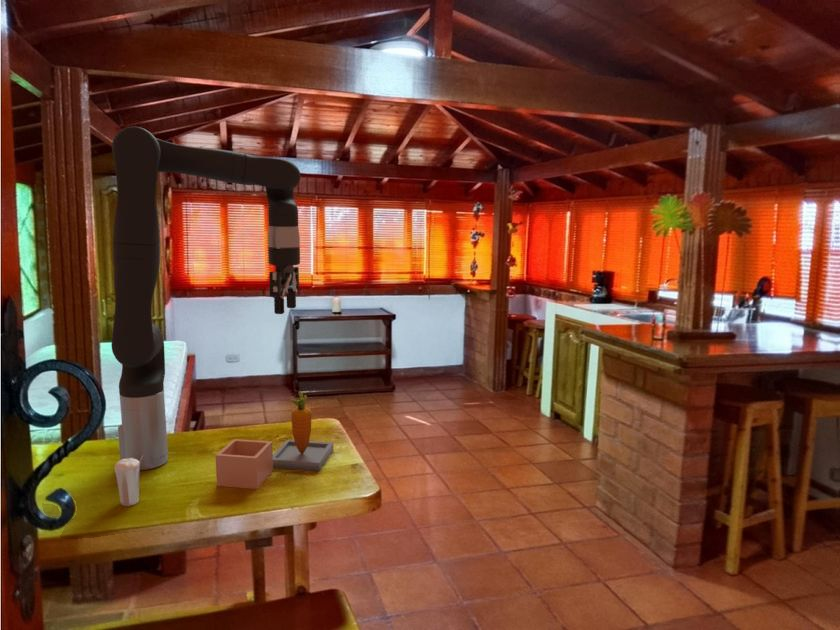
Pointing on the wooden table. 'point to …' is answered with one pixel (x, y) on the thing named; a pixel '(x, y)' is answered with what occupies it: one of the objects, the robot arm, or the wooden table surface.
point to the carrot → (301, 423)
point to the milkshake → (128, 480)
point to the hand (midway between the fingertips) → (285, 310)
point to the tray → (302, 456)
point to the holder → (244, 463)
